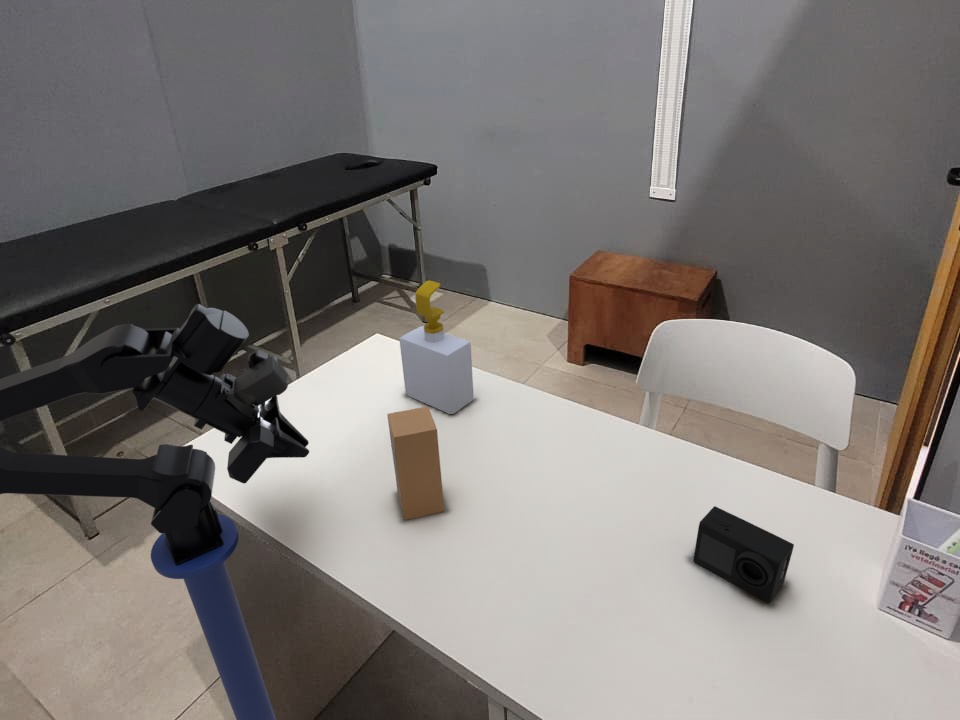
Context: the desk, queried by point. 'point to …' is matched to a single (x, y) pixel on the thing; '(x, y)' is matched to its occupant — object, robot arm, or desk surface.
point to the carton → (416, 462)
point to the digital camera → (742, 553)
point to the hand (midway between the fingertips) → (307, 449)
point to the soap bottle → (436, 360)
